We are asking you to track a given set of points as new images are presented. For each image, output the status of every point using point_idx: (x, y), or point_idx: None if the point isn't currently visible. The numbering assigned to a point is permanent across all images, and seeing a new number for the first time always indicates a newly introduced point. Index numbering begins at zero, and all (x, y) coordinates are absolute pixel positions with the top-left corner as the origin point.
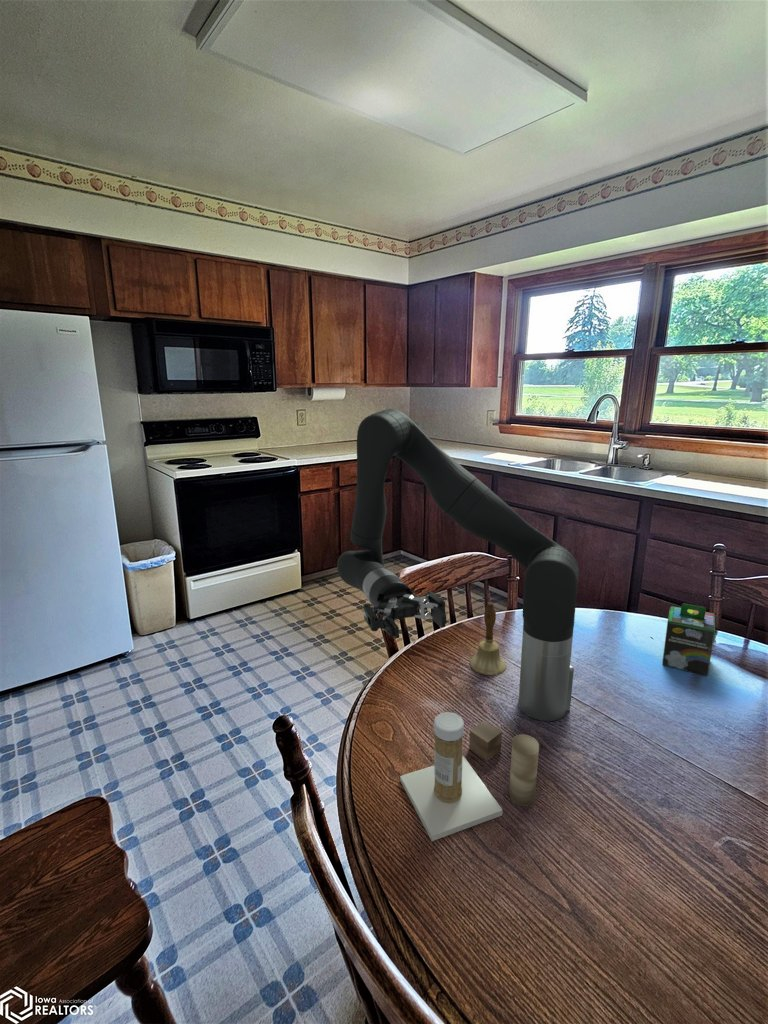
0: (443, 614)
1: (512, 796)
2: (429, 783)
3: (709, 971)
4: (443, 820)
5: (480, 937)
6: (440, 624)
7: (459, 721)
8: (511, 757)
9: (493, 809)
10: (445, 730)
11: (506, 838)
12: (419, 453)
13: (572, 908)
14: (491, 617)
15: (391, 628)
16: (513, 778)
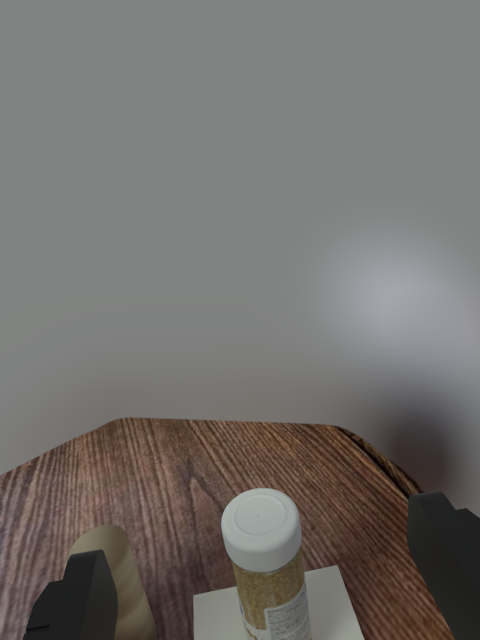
0: (44, 616)
1: (155, 626)
2: None
3: (118, 434)
4: (310, 591)
5: (300, 464)
6: (111, 606)
7: (233, 510)
8: (131, 582)
9: (208, 599)
10: (278, 491)
11: (213, 562)
12: None
13: (189, 478)
14: None
15: (463, 515)
16: (145, 597)
